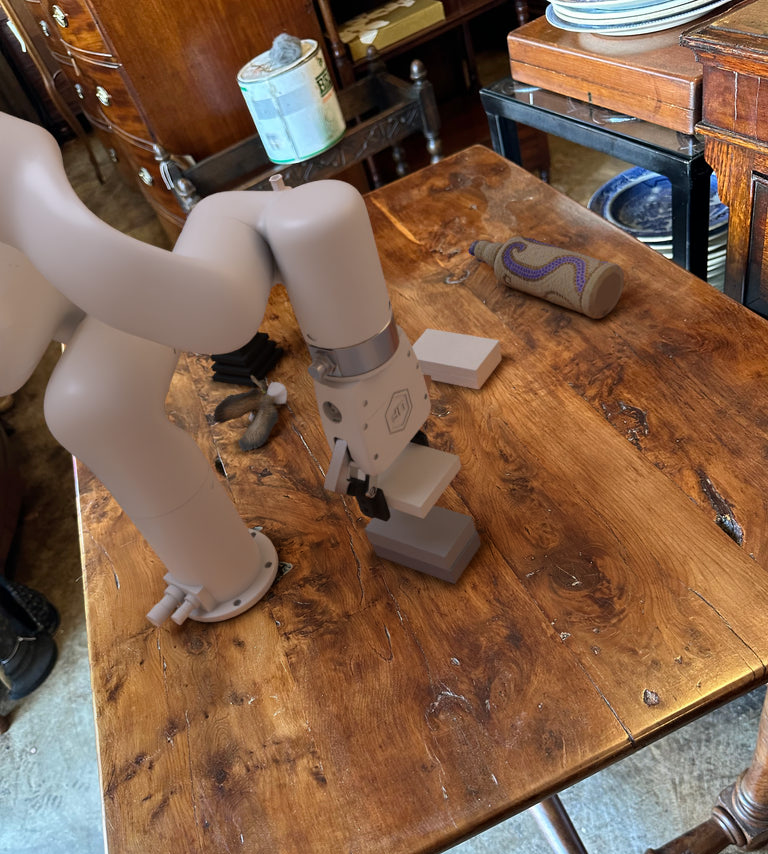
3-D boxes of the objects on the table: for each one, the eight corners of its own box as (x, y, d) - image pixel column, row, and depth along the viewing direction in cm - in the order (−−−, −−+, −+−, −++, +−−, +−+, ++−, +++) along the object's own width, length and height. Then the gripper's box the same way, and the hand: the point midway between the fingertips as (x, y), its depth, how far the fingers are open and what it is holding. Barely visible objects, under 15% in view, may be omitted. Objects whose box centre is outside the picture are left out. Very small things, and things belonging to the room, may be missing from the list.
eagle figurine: (246, 395, 110) (206, 429, 104) (256, 358, 105) (215, 392, 99) (290, 425, 110) (253, 461, 104) (303, 390, 104) (264, 426, 98)
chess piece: (213, 381, 117) (150, 262, 103) (243, 347, 121) (186, 228, 107) (255, 387, 113) (196, 264, 99) (284, 352, 117) (231, 229, 103)
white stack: (480, 390, 100) (476, 370, 97) (407, 375, 106) (401, 356, 103) (503, 359, 102) (499, 339, 100) (431, 346, 108) (426, 327, 106)
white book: (423, 519, 72) (420, 507, 71) (329, 486, 77) (325, 475, 76) (461, 467, 75) (459, 455, 74) (368, 440, 81) (365, 428, 80)
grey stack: (455, 584, 80) (446, 557, 77) (375, 555, 86) (363, 529, 83) (481, 544, 83) (474, 517, 80) (402, 518, 88) (392, 492, 85)
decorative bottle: (630, 299, 104) (627, 254, 99) (591, 330, 102) (587, 285, 97) (494, 250, 121) (486, 210, 116) (458, 276, 119) (449, 236, 114)
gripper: (327, 417, 59) (381, 564, 71) (445, 286, 67) (474, 439, 80) (253, 396, 62) (317, 539, 75) (373, 275, 71) (412, 422, 83)
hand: (397, 487), depth 77 cm, fingers closed on white book, 7 cm apart
